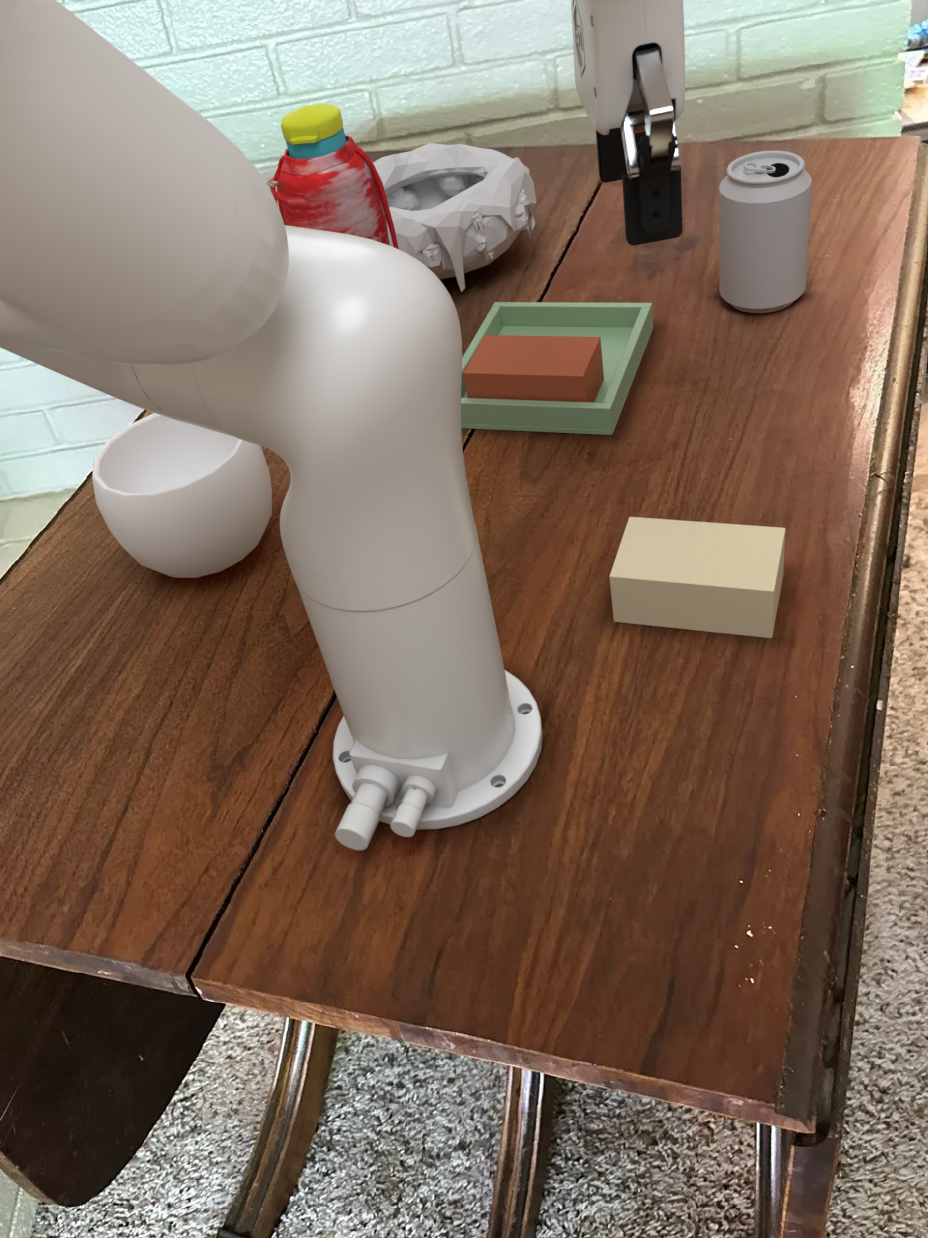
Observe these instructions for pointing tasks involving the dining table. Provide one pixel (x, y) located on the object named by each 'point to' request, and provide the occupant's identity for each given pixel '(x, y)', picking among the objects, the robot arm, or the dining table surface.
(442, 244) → the bowl
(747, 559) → the pad beige
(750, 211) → the can
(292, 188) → the water bottle
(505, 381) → the pad terracotta
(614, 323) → the frame
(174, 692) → the dining table surface
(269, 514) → the cup
